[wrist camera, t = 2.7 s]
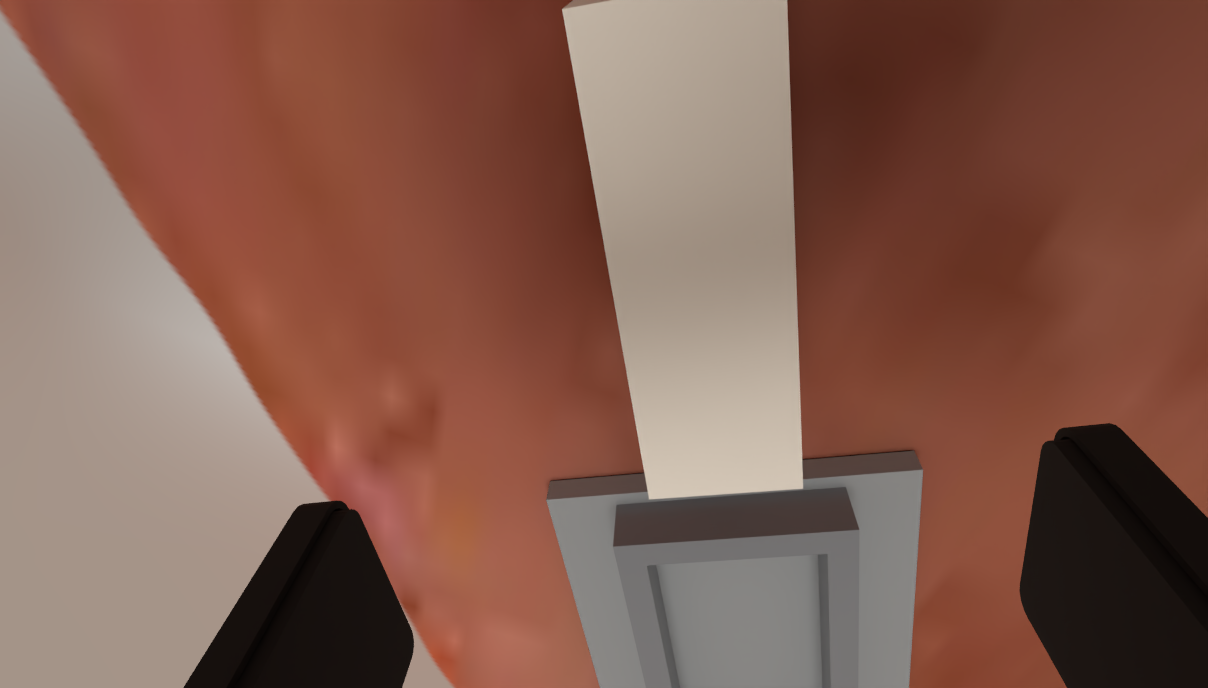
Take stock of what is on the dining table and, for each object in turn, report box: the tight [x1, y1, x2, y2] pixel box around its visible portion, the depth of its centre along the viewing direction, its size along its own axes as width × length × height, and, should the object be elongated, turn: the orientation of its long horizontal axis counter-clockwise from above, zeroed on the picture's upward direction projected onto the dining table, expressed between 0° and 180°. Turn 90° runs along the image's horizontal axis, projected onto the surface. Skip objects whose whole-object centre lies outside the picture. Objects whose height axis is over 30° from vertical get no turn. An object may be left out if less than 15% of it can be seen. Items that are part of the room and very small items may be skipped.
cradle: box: [546, 451, 923, 688], centre depth 28 cm, size 13×17×3 cm
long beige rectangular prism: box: [562, 0, 803, 499], centre depth 18 cm, size 4×12×6 cm, turn 10°
